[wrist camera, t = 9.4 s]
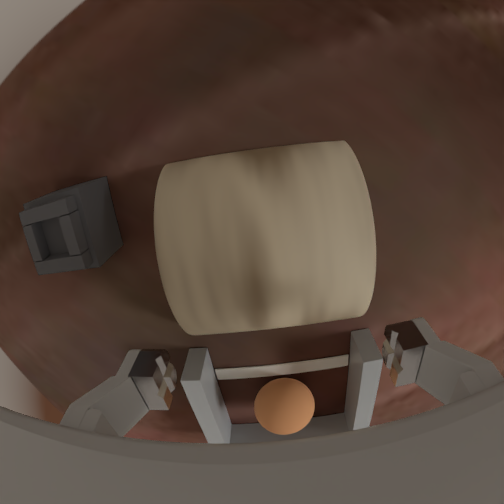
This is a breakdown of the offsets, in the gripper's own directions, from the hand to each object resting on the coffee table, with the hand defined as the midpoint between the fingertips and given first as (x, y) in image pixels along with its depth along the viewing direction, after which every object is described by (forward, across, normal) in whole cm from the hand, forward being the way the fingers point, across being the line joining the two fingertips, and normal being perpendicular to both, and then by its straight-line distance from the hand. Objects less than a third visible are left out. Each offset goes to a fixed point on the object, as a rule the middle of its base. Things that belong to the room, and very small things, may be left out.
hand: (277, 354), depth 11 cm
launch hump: (+13, 0, -2) cm, 13 cm away
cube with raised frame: (+7, +10, -5) cm, 13 cm away
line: (+7, 0, +7) cm, 10 cm away
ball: (+5, 0, +9) cm, 10 cm away
